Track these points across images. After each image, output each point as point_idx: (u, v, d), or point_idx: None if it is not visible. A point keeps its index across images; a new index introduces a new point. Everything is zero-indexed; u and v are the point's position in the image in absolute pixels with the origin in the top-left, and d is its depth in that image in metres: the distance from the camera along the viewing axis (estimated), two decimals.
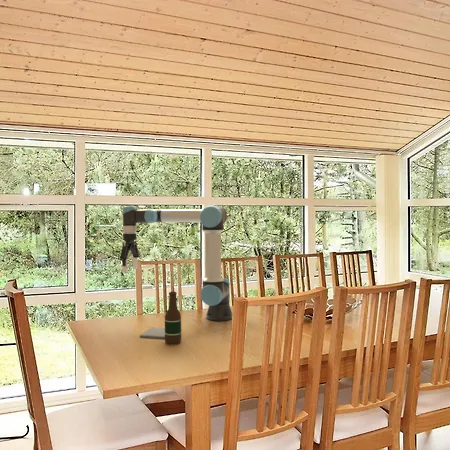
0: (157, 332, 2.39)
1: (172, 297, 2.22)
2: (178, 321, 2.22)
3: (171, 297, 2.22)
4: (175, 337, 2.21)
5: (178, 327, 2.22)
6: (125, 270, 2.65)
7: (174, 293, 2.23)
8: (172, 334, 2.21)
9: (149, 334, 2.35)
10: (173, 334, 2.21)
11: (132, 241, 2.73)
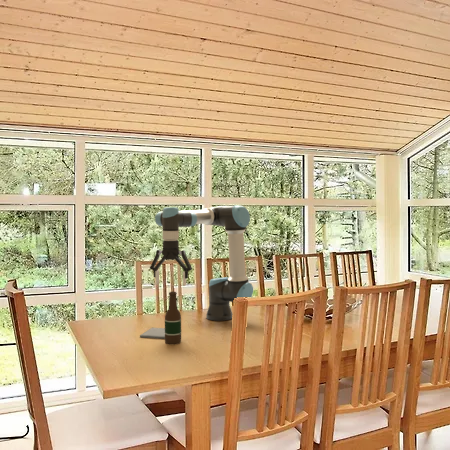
0: (157, 332, 2.39)
1: (172, 297, 2.22)
2: (178, 321, 2.22)
3: (171, 297, 2.22)
4: (175, 337, 2.21)
5: (178, 327, 2.22)
6: None
7: (174, 293, 2.23)
8: (172, 334, 2.21)
9: (149, 334, 2.35)
10: (173, 334, 2.21)
11: (172, 250, 2.23)
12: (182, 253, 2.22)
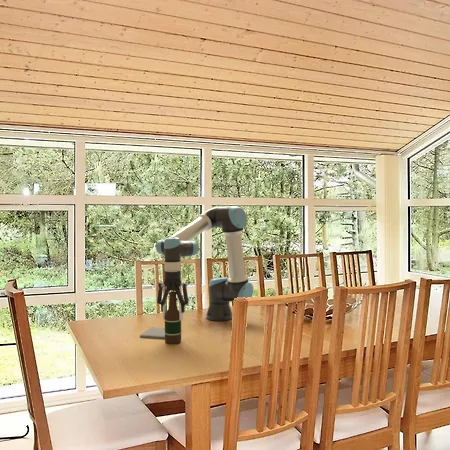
0: (157, 332, 2.39)
1: (172, 297, 2.22)
2: (178, 321, 2.22)
3: (171, 297, 2.22)
4: (175, 337, 2.21)
5: (178, 327, 2.22)
6: None
7: (174, 293, 2.23)
8: (172, 334, 2.21)
9: (149, 334, 2.35)
10: (173, 334, 2.21)
11: (175, 280, 2.22)
12: (183, 286, 2.21)
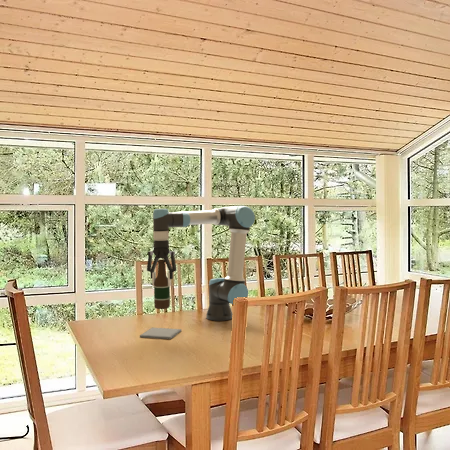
0: (157, 332, 2.39)
1: (160, 264, 2.36)
2: (167, 287, 2.36)
3: (160, 264, 2.36)
4: (163, 301, 2.35)
5: (167, 292, 2.36)
6: None
7: (163, 261, 2.36)
8: (161, 299, 2.35)
9: (149, 334, 2.35)
10: (162, 299, 2.35)
11: (163, 248, 2.36)
12: (171, 254, 2.35)
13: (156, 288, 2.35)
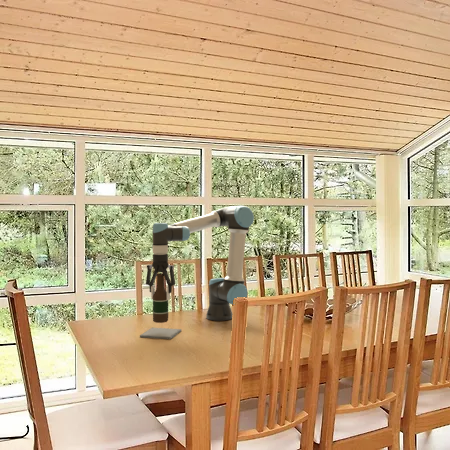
0: (157, 332, 2.39)
1: (159, 278, 2.37)
2: (165, 301, 2.37)
3: (159, 278, 2.37)
4: (162, 315, 2.36)
5: (165, 306, 2.37)
6: None
7: (162, 274, 2.37)
8: (159, 313, 2.36)
9: (149, 334, 2.35)
10: (160, 313, 2.36)
11: (162, 262, 2.37)
12: (170, 268, 2.36)
13: (155, 302, 2.36)
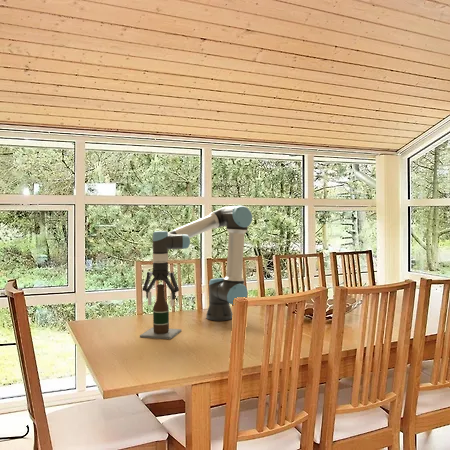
0: None
1: (160, 289, 2.37)
2: (166, 312, 2.37)
3: (159, 289, 2.38)
4: (162, 326, 2.36)
5: (166, 317, 2.37)
6: None
7: (162, 286, 2.38)
8: (159, 324, 2.36)
9: (149, 334, 2.35)
10: (161, 324, 2.36)
11: (162, 271, 2.37)
12: (171, 275, 2.36)
13: (155, 313, 2.37)
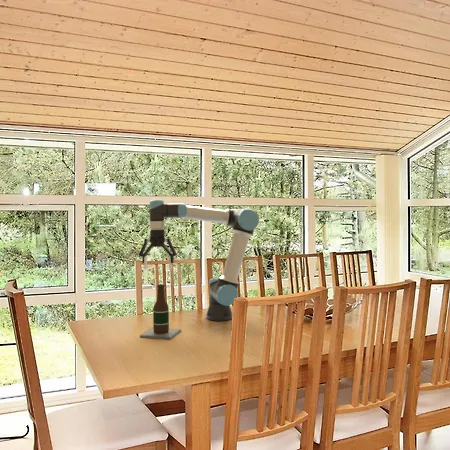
0: None
1: (160, 289, 2.38)
2: (166, 312, 2.37)
3: (159, 289, 2.38)
4: (162, 326, 2.36)
5: (166, 317, 2.37)
6: None
7: (162, 286, 2.38)
8: (159, 324, 2.36)
9: (149, 334, 2.35)
10: (161, 324, 2.36)
11: (159, 238, 2.50)
12: (168, 240, 2.49)
13: (155, 313, 2.37)
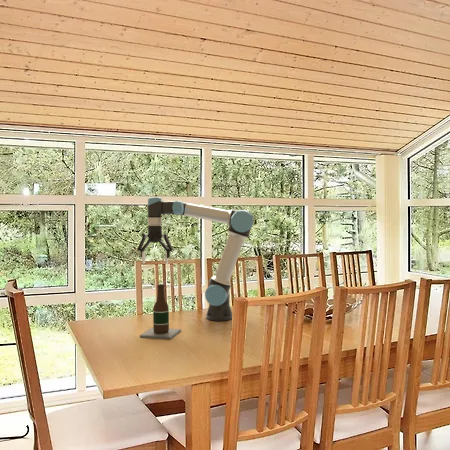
0: None
1: (160, 289, 2.38)
2: (166, 312, 2.37)
3: (159, 289, 2.38)
4: (162, 326, 2.36)
5: (166, 317, 2.37)
6: None
7: (162, 286, 2.38)
8: (159, 324, 2.36)
9: (149, 334, 2.35)
10: (161, 324, 2.36)
11: (156, 234, 2.62)
12: (164, 236, 2.61)
13: (155, 313, 2.37)
